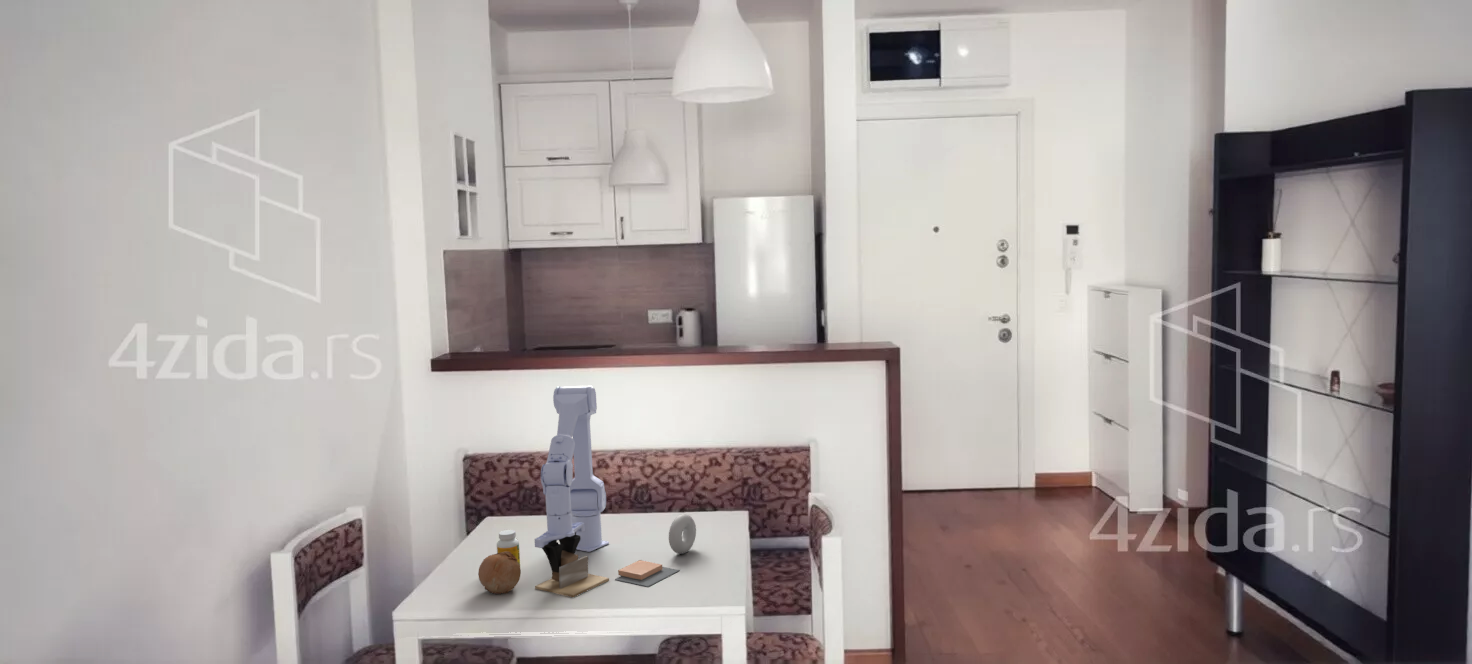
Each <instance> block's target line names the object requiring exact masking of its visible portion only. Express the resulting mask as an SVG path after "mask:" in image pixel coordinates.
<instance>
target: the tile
mask: <svg viewBox="0 0 1472 664" xmlns="http://www.w3.org/2000/svg"><path fill="white" fill-rule="evenodd" d="M662 567H663V564H660V563H655V562H652V561H646V560H642V559H641V560H640V559H639V560H637V561H635V562H633V563H630V564H629V565H626V566H624V567H622V568H620V569H618V570H617V573H618V576H619V577H620V576H624V577H629V578H633V579H638V580H643V579H645V578H647V577H649V576H651V575H653V574H655V573H657V572H659V571H661V570H662Z"/></svg>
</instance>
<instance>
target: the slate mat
mask: <svg viewBox="0 0 1472 664" xmlns="http://www.w3.org/2000/svg"><path fill="white" fill-rule="evenodd" d="M678 572H680V569H676V568H671V567H665V566H662V570H661V571H659V572H657V573H655V574H653V575H651V576H649V577H647V578H645V579H643V580H638V579H633V578H629V577H624V576H620V575H619V576H618V577H616V578H615V579H614V580H615V581H619V582H622V581H623V583H628V584H632V585H636V584H637V585H638V586H642V587H646V588H649V587H651V586H653V585H655V584H657V583H658V582H661V581H663V580H664V579H666V578H669V577H670V576H672V575H674V574H676V573H678ZM668 576H669V577H668Z"/></svg>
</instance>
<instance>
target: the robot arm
mask: <svg viewBox="0 0 1472 664" xmlns="http://www.w3.org/2000/svg"><path fill="white" fill-rule="evenodd" d="M552 399H553V407H554V408H555V410H556V414H558V422H557V433H556V435H555V436H553V437H552V438H551V440H550V444H549V450H548V454H547V458H546V461H545V462H546V463H543V464H542V466H541V469H540V483H541V486H542V491H543V492H542V493H543V495H544V497H545V512H546V525H547V526H546V528H547V530H546V531H545V532H544V533H542V534H541V535H540V536H538V537H536V538H534V540H533V541H534V547H535V548H539V549H542V550H543V552H544V553H545V556H546V558H547V559H548V562H549V565H550V568H551V572H552V571H553V572H557V573H559V567H561V553H562V550H563V551H567V552H570V553H573V554H576V551H577V550H578V551H583V552H587V553H588V552H589V553H591V552H592V551H595V550H596V549H597V550H598V549H601V548H602V547H604V546H607V545H609V544H610V541H608V540H603V538H602V537H603V536H602V519H601V518H602V516H601V513H603V511H604V510H605V508H606V506H607V494H606V490H605V488H606V487H605V483H604V481H603V480H601V479H600V478H598V477H597V476H595V475H594V472H593V468H594V467H593V453H592V436H591V416H592V415H595V414H597V408H598V406H597V392H596V389H595V387H594V386H593V385H592V384H591V385H576V386H574V385H570V386H559V385H558V386H556V387H555V389H554V390H553V397H552ZM573 468H574V470H573ZM573 471H574V472H573ZM573 473H574V474H573ZM573 475H574V478H573Z"/></svg>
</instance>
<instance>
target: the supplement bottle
mask: <svg viewBox="0 0 1472 664" xmlns="http://www.w3.org/2000/svg"><path fill="white" fill-rule="evenodd" d="M516 536H517V533H516V530H514V529H506V530H505V529H504V530H501V531H499V532H498V539H499V540H498V541H497V542H496V554H497V553H500V552H504V551H505V552H506V551H508V552H511V553H512V554H514V556H515V558H517V559H518V560H517V561H518V563H519V565H520V566H521V558H520V555H521V554H520V553H521V552H520V541H519V540H518V539H517V538H516Z"/></svg>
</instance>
